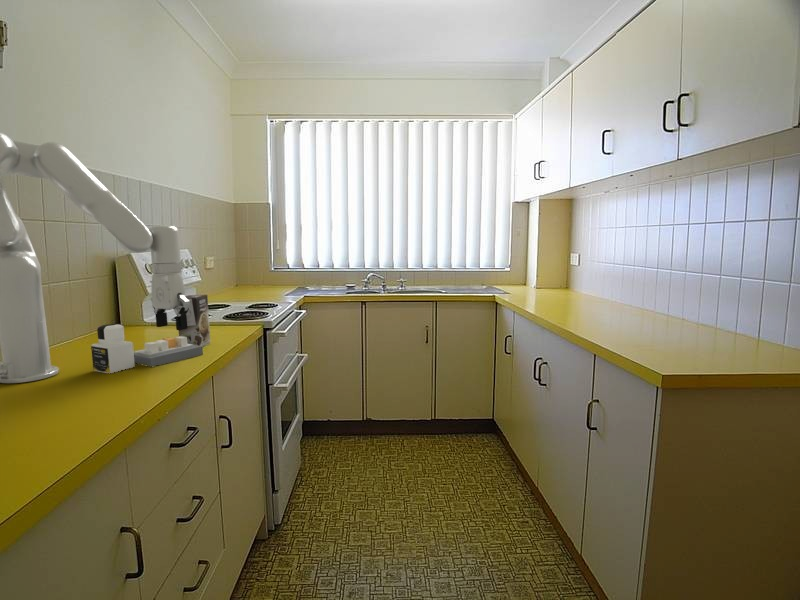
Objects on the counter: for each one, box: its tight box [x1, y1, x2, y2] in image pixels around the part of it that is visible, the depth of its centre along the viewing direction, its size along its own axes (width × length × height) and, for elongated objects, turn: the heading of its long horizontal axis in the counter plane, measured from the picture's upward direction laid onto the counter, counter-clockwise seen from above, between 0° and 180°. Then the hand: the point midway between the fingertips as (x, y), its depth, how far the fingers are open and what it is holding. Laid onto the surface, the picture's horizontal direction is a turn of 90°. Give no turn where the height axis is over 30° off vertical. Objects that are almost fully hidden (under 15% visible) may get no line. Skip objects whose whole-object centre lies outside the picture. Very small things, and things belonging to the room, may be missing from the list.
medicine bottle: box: [90, 323, 136, 375], centre depth 130 cm, size 7×7×12 cm
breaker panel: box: [133, 335, 204, 368], centre depth 142 cm, size 16×12×5 cm
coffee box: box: [178, 294, 211, 348], centre depth 156 cm, size 9×6×16 cm
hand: (171, 327), depth 143 cm, fingers open, 9 cm apart
